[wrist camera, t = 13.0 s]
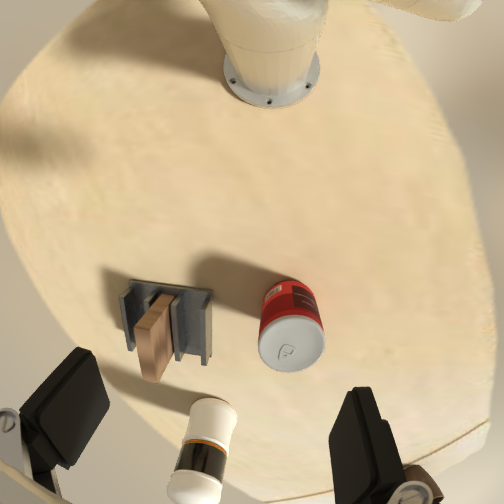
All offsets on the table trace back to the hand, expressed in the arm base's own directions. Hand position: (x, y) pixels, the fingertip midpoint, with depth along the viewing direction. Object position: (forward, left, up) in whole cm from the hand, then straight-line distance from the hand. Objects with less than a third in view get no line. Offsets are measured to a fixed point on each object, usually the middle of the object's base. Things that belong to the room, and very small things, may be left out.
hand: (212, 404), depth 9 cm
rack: (+16, -13, -30) cm, 37 cm away
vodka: (+37, -6, -31) cm, 48 cm away
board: (+16, -13, -30) cm, 36 cm away
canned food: (+11, +5, -31) cm, 33 cm away
